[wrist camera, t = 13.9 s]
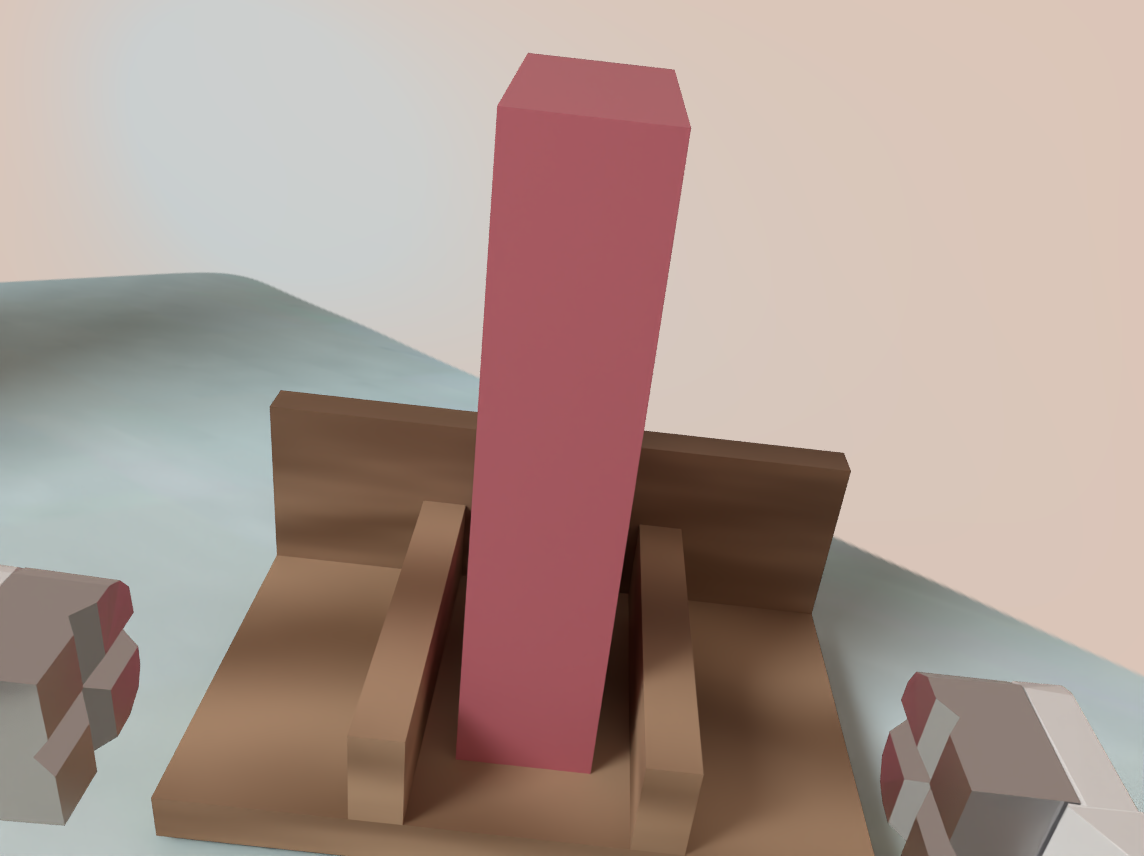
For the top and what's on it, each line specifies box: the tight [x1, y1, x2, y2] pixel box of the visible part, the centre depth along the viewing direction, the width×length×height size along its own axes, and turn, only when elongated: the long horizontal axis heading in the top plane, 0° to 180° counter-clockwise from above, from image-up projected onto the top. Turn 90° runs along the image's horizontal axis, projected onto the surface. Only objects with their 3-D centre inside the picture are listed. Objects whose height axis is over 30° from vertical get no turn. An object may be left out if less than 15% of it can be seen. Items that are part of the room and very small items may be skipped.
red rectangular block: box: [456, 53, 691, 774], centre depth 23 cm, size 6×3×15 cm, turn 177°
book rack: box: [151, 390, 874, 856], centre depth 25 cm, size 10×16×6 cm, turn 87°
